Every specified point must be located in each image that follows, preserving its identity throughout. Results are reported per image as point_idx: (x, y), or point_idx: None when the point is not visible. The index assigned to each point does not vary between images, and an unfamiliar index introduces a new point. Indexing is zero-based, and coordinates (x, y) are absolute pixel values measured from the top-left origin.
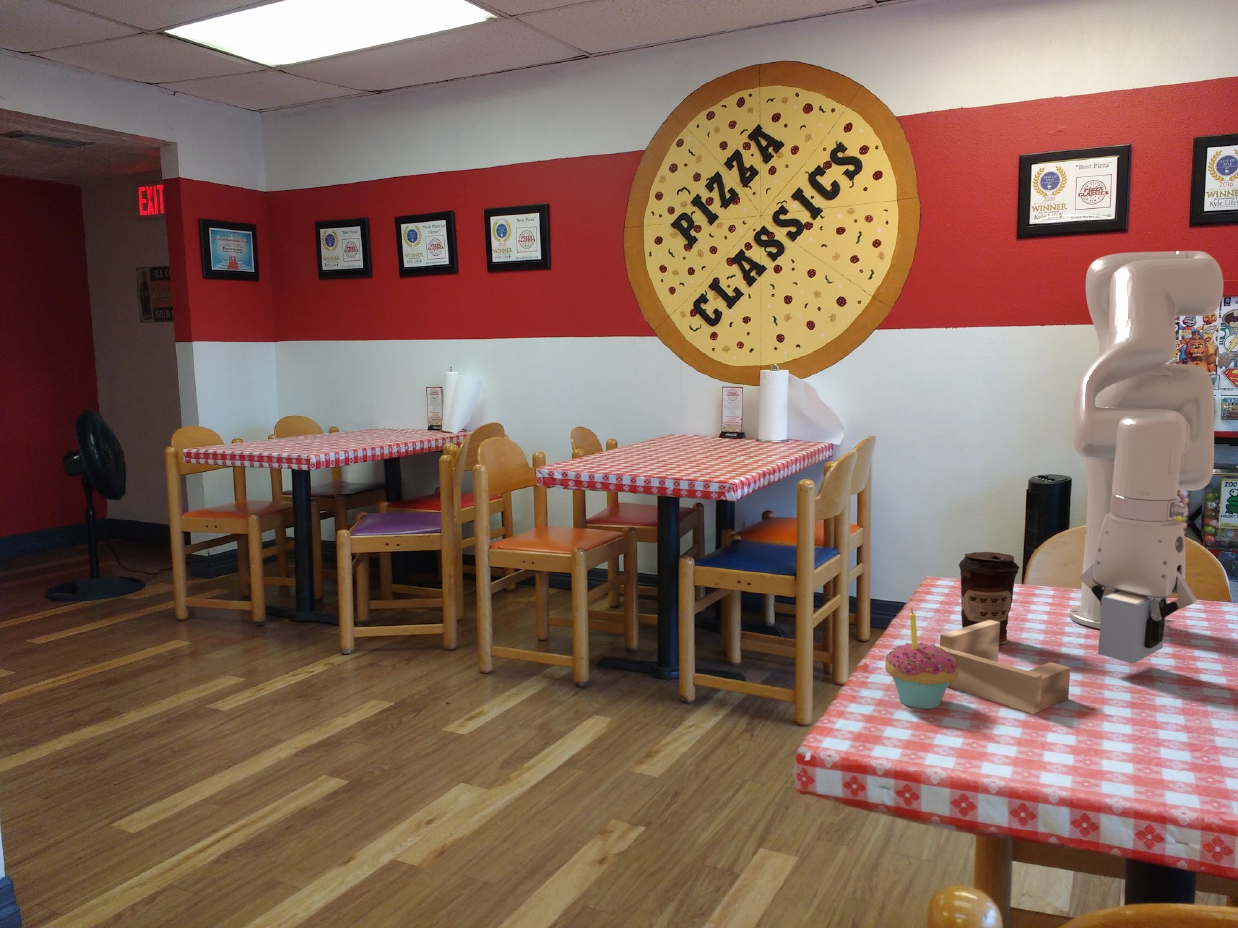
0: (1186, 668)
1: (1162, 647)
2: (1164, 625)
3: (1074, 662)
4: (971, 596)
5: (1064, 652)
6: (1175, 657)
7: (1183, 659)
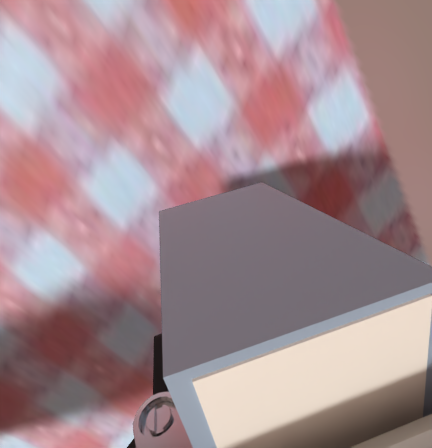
0: (268, 100)
1: (262, 183)
2: (298, 201)
3: (131, 327)
4: None
5: (55, 296)
6: (190, 19)
7: (213, 15)
